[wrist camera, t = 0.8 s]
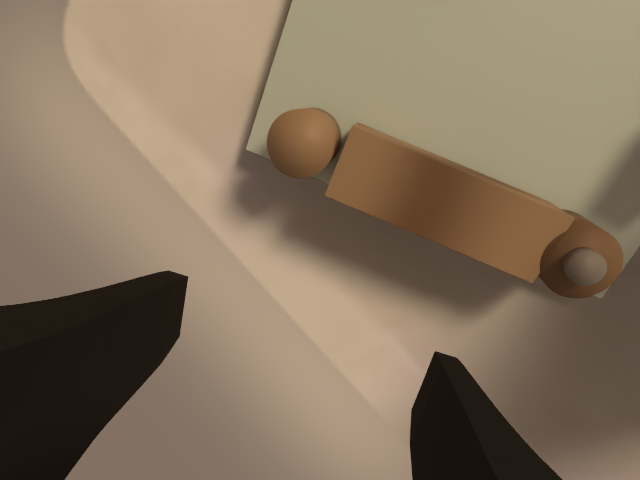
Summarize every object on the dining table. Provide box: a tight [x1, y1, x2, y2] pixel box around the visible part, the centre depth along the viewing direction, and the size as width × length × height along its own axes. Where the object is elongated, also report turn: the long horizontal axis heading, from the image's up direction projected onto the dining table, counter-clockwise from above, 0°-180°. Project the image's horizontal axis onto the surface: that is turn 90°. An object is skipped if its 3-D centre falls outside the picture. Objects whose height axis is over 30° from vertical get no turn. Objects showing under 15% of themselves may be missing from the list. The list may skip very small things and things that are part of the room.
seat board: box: [246, 0, 640, 299], centre depth 14 cm, size 16×16×4 cm
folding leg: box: [325, 122, 623, 298], centre depth 15 cm, size 10×3×3 cm, turn 69°
